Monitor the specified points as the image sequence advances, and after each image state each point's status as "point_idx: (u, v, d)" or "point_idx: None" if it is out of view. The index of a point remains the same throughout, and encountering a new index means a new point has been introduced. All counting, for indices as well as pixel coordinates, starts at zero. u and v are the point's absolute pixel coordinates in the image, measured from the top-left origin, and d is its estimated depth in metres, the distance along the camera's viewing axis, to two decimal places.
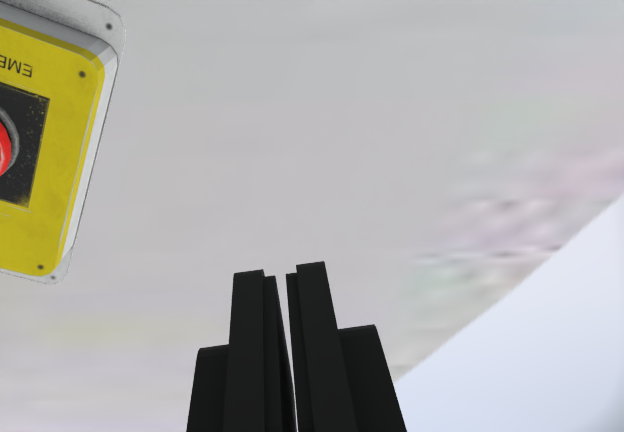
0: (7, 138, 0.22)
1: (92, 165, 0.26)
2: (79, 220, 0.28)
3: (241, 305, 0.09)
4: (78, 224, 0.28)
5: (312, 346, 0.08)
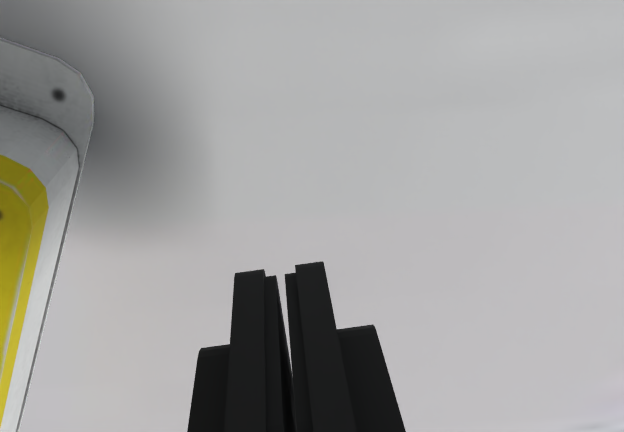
0: None
1: (38, 334, 0.14)
2: (20, 415, 0.16)
3: (242, 305, 0.09)
4: (19, 420, 0.16)
5: (311, 346, 0.08)
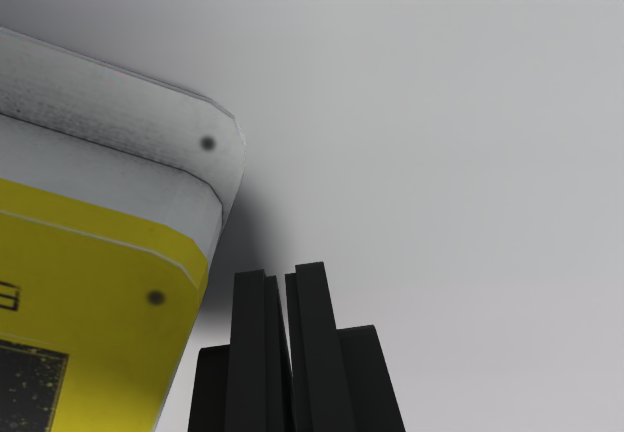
0: None
1: None
2: None
3: (242, 305, 0.09)
4: None
5: (310, 346, 0.08)
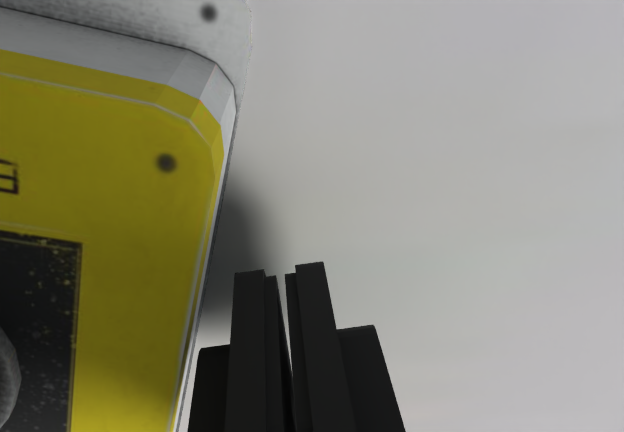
0: None
1: (193, 338, 0.12)
2: None
3: (242, 305, 0.09)
4: None
5: (311, 346, 0.08)
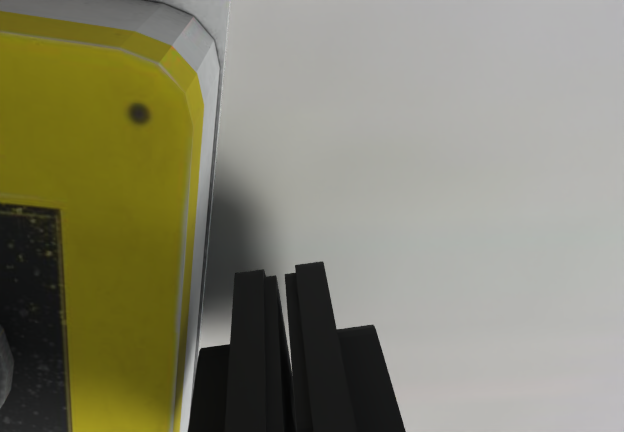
0: None
1: (198, 316, 0.11)
2: None
3: (242, 305, 0.09)
4: None
5: (311, 346, 0.08)
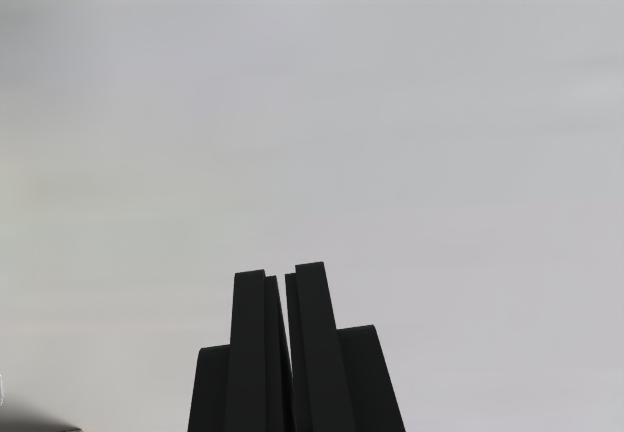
0: None
1: None
2: None
3: (242, 305, 0.09)
4: None
5: (311, 346, 0.08)
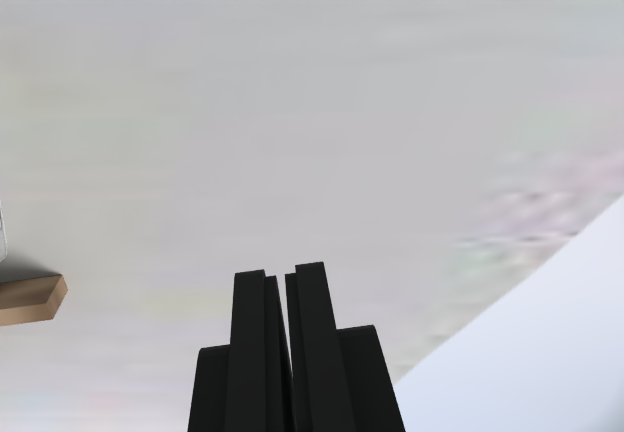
0: None
1: None
2: None
3: (242, 305, 0.09)
4: None
5: (311, 346, 0.08)
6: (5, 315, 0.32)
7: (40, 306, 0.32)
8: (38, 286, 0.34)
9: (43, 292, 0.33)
